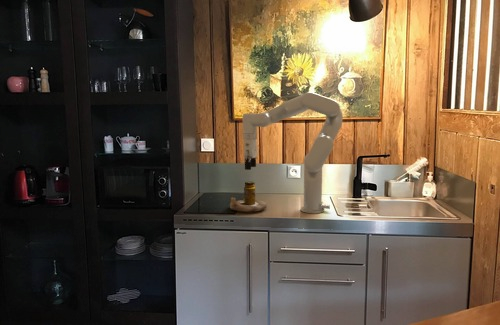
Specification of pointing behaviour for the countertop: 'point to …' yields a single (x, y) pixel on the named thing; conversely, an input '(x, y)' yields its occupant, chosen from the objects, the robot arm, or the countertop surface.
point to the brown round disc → (239, 207)
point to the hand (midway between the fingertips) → (250, 168)
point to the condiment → (249, 194)
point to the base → (247, 211)
